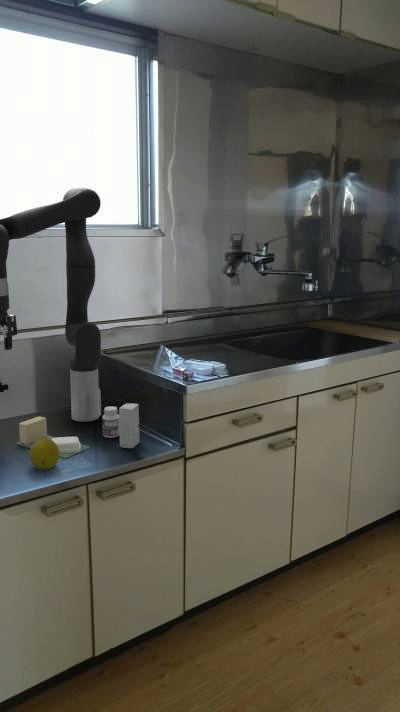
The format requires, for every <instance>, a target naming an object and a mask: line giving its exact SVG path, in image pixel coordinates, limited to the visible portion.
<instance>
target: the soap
mask: <svg viewBox="0 0 400 712" xmlns="http://www.w3.org/2000/svg"><path fill="white" fill-rule="evenodd" d="M51 440H52V441H54V442H55V443H56V445H57V446H58V448H59V452H60V453H72V452H80V450H81V445H82V444H81V442H80V439H79V437H78V436H63V437H62V436H61V437H60V436H59V437H56V438H52V439H51ZM80 453H81V452H80Z"/></svg>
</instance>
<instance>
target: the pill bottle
mask: <svg viewBox="0 0 400 712" xmlns="http://www.w3.org/2000/svg"><path fill="white" fill-rule="evenodd" d="M103 411H104V414H103V415H102V417H101V418H102V436H103V437H104V438H107V439H108V438H109V439H114V438H117V437H120V431H119V413H118V407H117V406H106V407H104V410H103Z"/></svg>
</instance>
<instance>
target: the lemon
mask: <svg viewBox="0 0 400 712" xmlns="http://www.w3.org/2000/svg"><path fill="white" fill-rule="evenodd" d="M59 453H60V452H59V448H58V446H57V445H56V443H55V442H54V441H52V440H50V439H47V438H43V439H40V440H38V441H36V442H35V443H34V444H33V446H32V447H31V449H30V451H29V461H30V462H31V464H32V465H33V466H34V467H35V468H37V469H39V470H42V471H47V470H48V471H49V470H51V469H53V468H54V467H55V466H56V465H57V463H58V462H59V460H60V457H59Z"/></svg>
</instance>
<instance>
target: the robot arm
mask: <svg viewBox="0 0 400 712" xmlns="http://www.w3.org/2000/svg"><path fill="white" fill-rule="evenodd" d="M101 204H102V202H101V198H100V195H99V194H98V193H97V192H96V191H95V190H93V189H91V188H87V187H79V188H77V187H74V188H70V189H68V190H67V191H66V192H65V194H64V195H63V198H62V200H61V201H58V202H54V203H50V204H48V205H47V204H46V205H43V206H38V207H33V208H31V209H27V210H23V211H21V212H20V211H19V212H18V213H14V214H12V215H10V216H7V217H4V218H0V332H1V333H2V336H3V341H4V342H3V345H4V346H3V347H4V350H5V351H9V350H13V337H14V336H17V335H18V327H17V317H16V314H8V310H9V309H10V294H9V293H10V290H9V283H8V272H7V261H8V253H9V249H10V241H11V240H19V239H24V238H27V237H29V236H31V235H34V234H37V233H39V232H42V231H45V230H47V229H50V228H52V227H55V226H58V225H60V224H64V228H65V229H64V230H65V253H66V255H65V256H66V257H65V259H66V260H65V265H66V266H65V271H66V272H65V274H66V316H65V327H64V333H65V339H66V341H67V343H68V344H69V345H71V346H72V347H74V348H75V354H74V358H72V359H71V360H70V361H69V372H70V373H69V374H70V377H69V378H70V401H71V403H70V405H71V406H70V407H71V409H70V410H71V420H73V421H76V422H79V423H81V422H83V423H84V422H85V423H86V422H93V421H96V420H98V419H100V416H102V399H101V398H102V396H101V395H102V394H101V392H102V391H101V389H100V387H99V386H100V385H99V363H100V361H101V355H102V354H101V352H102V351H101V349H102V345H101V344H102V336H101V330H100V328H99V327H98V325H97V324H95V323H93V322H91V321H89V319H88V318H89V317H88V316H89V315H88V305H89V300H90V297H91V295H92V292H93V290H94V287H95V282H96V259H95V255H94V253H93V250H92V247H91V244H90V241H89V239H88V234H87V219H89V218H92V217H94V216H95V215H97V214H98V212H99V211H100V208H101Z"/></svg>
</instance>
